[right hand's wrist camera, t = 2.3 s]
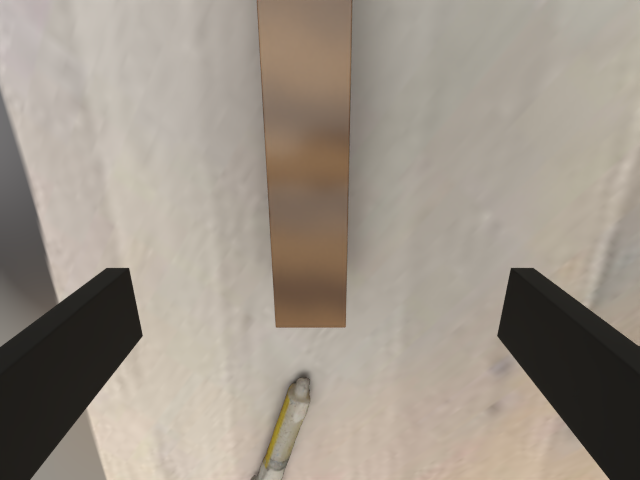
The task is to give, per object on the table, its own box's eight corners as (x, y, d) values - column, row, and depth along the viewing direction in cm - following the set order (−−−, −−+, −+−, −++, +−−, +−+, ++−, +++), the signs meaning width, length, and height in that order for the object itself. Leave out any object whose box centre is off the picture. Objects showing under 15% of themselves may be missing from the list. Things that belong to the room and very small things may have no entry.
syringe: (292, 368, 34) (289, 389, 32) (329, 378, 35) (329, 400, 32) (229, 527, 43) (223, 554, 40) (259, 534, 43) (255, 561, 41)
